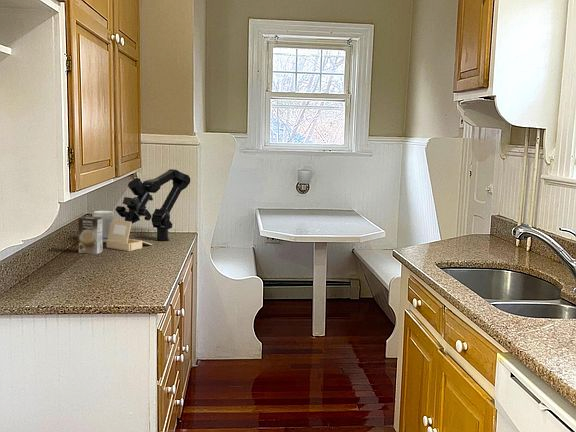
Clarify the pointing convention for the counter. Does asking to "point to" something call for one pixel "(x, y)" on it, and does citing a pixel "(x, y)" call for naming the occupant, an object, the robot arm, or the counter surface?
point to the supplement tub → (105, 222)
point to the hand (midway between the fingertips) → (124, 226)
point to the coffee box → (90, 235)
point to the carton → (126, 245)
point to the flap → (119, 230)
